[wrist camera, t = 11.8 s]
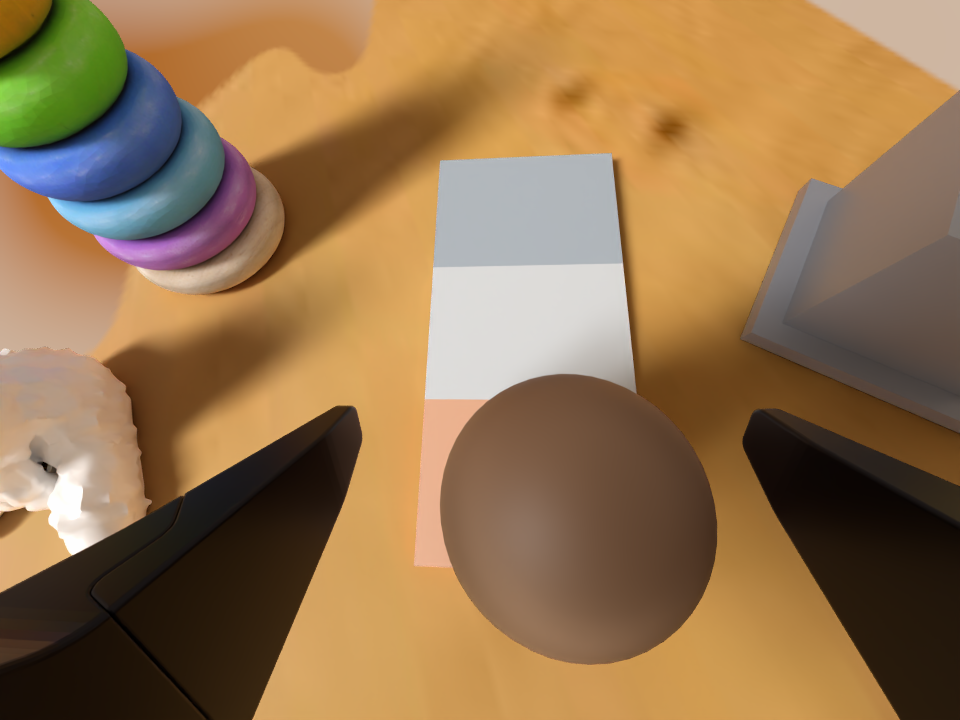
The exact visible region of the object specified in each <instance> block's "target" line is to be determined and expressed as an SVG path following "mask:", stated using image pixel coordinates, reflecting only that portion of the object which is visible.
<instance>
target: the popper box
mask: <svg viewBox="0 0 960 720" xmlns="http://www.w3.org/2000/svg"><path fill="white" fill-rule="evenodd" d="M740 339H741V340H744V341H746V342H748V343H751V344H753V345H755V346H758V347H760V348H762V349H765V350H767V351H769V352H772V353H774V354H776V355H779V356H781V357H783V358H786V359H788V360H790V361H793V362H795V363H797V364H799V365H802V366H804V367H806V368H809V369H811V370H813V371H816V372H818V373H820V374H823V375H825V376H827V377H830V378H832V379H834V380H837V381H839V382H841V383H844V384H846V385H848V386H851V387H853V388H855V389H858V390H860V391H862V392H865V393H867V394H869V395H871V396H874V397H876V398H878V399H881V400H883V401H885V402H888V403H890V404H892V405H895V406H897V407H899V408H902V409H904V410H906V411H909V412H911V413H913V414H916V415H918V416H920V417H923V418H925V419H927V420H930V421H932V422H934V423H937V424H939V425H941V426H944V427H946V428H948V429H950V430H953V431H955V432H957V433H960V90H959V91H958V92H957V93H956V94H955V95H954V96H952V97H951V98H950V99H949V100H948V101H946V102H945V103H944V104H943V105H942V106H940V107H939V108H938V109H937V110H936V111H935V112H933V113H932V114H931V115H930V116H929V117H927V118H926V119H925V120H924V121H923V122H921V123H920V124H919V125H918V126H917V127H915V128H914V129H913V130H912V131H911V132H910V133H908V134H907V135H906V136H905V137H904V138H902V139H901V140H900V141H899V142H898V143H896V144H895V145H894V146H893V147H892V148H890V149H889V150H888V151H887V152H886V153H885V154H883V155H882V156H881V157H880V158H879V159H877V160H876V161H875V162H874V163H873V164H871V165H870V166H869V167H868V168H867V169H866V170H864V171H863V172H862V173H861V174H860V175H858V176H857V177H856V178H855V179H854V180H852V181H851V182H850V183H849V184H848V185H846V186H845V187H844V188H843V189H842V188H839V187H836V186H833V185H830V184H827V183H824V182H821V181H818V180H815V179H812V178H811V179H810V180H809V181H808V182H807V183H806V184H805V185H804V186H803V187H802V188H801V189H800V190H799V191H798V194H797V197H796V199H795V202H794V204H793V207H792V209H791V212H790V214H789V217H788V219H787V222H786V224H785V227H784V229H783V232H782V234H781V237H780V239H779V242H778V244H777V247H776V249H775V252H774V254H773V257H772V259H771V262H770V265H769V267H768V270H767V272H766V275H765V277H764V280H763V282H762V285H761V287H760V290H759V292H758V295H757V297H756V300H755V302H754V305H753V307H752V310H751V312H750V315H749V317H748V320H747V322H746V325H745V327H744V330H743V333H742V335H741V338H740Z"/></svg>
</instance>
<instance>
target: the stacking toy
mask: <svg viewBox="0 0 960 720" xmlns="http://www.w3.org/2000/svg"><path fill="white" fill-rule="evenodd" d="M0 169H1V170H2V171H3V172H4V173H5V174H6V175H7V176H8V177H10V178H11V179H12V180H13V181H15V182H16V183H18V184H20V185H21V186H23V187H25V188H27V189H29V190H31V191H33V192H35V193H38V194H40V195H43V196H47V197H48V198H49V200H50V201H51V203H52V205H53V206H54V207H55V209H56V210H57V211H58V212H59V213H60V214H61V215H62V216H63V217H64V218H65V219H67V220H68V221H70V222H71V223H72V224H74V225H75V226H77V227H79V228H81V229H82V230H85V231H86V232H89V233H91V234H94V236H95V237H96V239H97V240H98V242H99V243H100V244H101V245H102V246H103V247H104V248H105V249H106V250H107V251H108V252H110V253H111V254H112V255H114V256H115V257H117V258H119V259H120V260H122V261H124V262H126V263H128V264H131V265H134V266H136V268H137V269H138V270H139V272H140V273H141V274H142V275H143V276H144V277H146V278H147V279H148V280H149V281H151V282H152V283H154V284H156V285H158V286H159V287H161V288H164V289H167V290H169V291H173V292H177V293H182V294H191V295H198V294H209V293H215V292H219V291H222V290H225V289H228V288H231V287H233V286H235V285H238V284H239V283H241V282H243V281H245V280H246V279H248V278H249V277H251V276H252V275H254V274H255V273H256V272H257V271H258V270H260V269H261V268H262V267H263V266H264V265H265V264H266V262H267V261H268V260H269V259H270V257H271V256H272V255H273V253H274V252H275V250H276V248H277V246H278V244H279V242H280V240H281V237H282V234H283V230H284V222H285V215H284V207H283V204H282V201H281V198H280V196H279V194H278V192H277V190H276V189H275V187H274V186H273V184H272V183H271V182H270V181H269V180H268V179H267V178H266V177H265V176H264V175H263V174H261V173H260V172H259V171H257V170H256V169H254V168H252V167H250V166H249V164H248V163H247V161H246V159H245V158H244V157H243V155H242V154H241V153H240V152H239V151H238V150H237V149H236V148H235V147H234V146H233V145H231V144H230V143H229V142H227V141H226V140H224V139H223V138H221V137H220V136H219V134H218V132H217V131H216V129H215V127H214V126H213V124H212V123H211V122H210V120H209V119H208V118H207V117H206V116H205V115H204V114H203V113H202V112H201V111H200V110H199V109H197V108H196V107H195V106H193V105H191V104H190V103H188V102H187V101H185V100H183V99H181V98H178V97H176V95H175V93H174V91H173V89H172V87H171V86H170V84H169V83H168V81H167V80H166V79H165V78H164V76H163V75H162V74H161V73H160V72H159V71H158V70H157V69H156V68H155V67H154V66H153V65H151V64H150V63H149V62H147V61H146V60H145V59H143V58H141V57H140V56H138V55H136V54H135V53H133V52H130V51H128V50H126V49H125V48H124V45H123V42H122V40H121V38H120V36H119V34H118V33H117V31H116V29H115V28H114V27H113V25H112V24H111V23H110V21H109V20H108V18H107V17H106V16H105V15H104V14H103V13H102V12H101V11H100V10H99V9H98V8H97V7H96V6H95V5H94V4H92V2H90V1H89V0H0Z"/></svg>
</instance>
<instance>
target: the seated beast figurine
mask: <svg viewBox="0 0 960 720" xmlns="http://www.w3.org/2000/svg"><path fill="white" fill-rule="evenodd" d="M125 391H126V385H125V384H124V383H122V382H121V381H120V380H118V379H117V378H116V377H115V376H114V375H113V374H112V373H111V371H110V369H109V368H106V367H104V366H103V365H102V364H101V363H100V362H99V361H98V360H96V359H95V358H94V357H92V356H87V355H80V354H77V353H75V352H74V351H72V350H71V349H69V348H66V349H61V350H52V349H50V348H48V347H42V348H37V349H22V350H20V351H17V352H15V351H12V350H9V349H6V348H5V349H3V350H1V351H0V516H1V515H2V514H3V513H4V511H13V510H17V509H20V508H24V507H26V509H27V511H40V510H46V509H50V510H51V512H52V513H51V514H50V516H49V518H48V519H49V524H50V525H51V526H53V527H54V528H55V529H56V530H57V531H58V534H59V538H61V539H64V542H65V544H66V547H67V550H68V551H69V552H70V553H71V554H72V555H74V554H76V553H78V552H80V551H82V550H84V549H86V548H87V547H89V546H91V545H93V544H95V543H97V542H99V541H101V540H103V539H104V538H106V537H108V536H110V535H112V534H114V533H116V532H118V531H120V530H121V529H123V528H125V527H127V526H129V525H130V524H132V523H134V522H136V521H138V520H139V519H141V518H143V517H145V516H146V512H147V507H148V506H149V505H150V504H151V503H152V501H151V500H149V499H146V498H145V494H144V488H145V487H144V480H143V474H142V466H141V460H140V456H141V454H142V451H141V450H140V449H139V448H138V442H137V428H136V427H135V426H134V425H133V419H132V405H131V398H130V397H129V396H128V395H127V393H126V392H125ZM43 462H46V463H47V464H48V466H47V469H46V471H44V468H43V466H41V464H42V463H43ZM56 472H57V473H56Z"/></svg>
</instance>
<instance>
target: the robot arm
mask: <svg viewBox="0 0 960 720" xmlns="http://www.w3.org/2000/svg"><path fill="white" fill-rule="evenodd" d="M361 443H362V431H361V427H360V422H359V418H358V414H357V411H356V409H355V407H353V406H335V407H334V408H332V409H330V410H328V411H327V412H325V413H323V414H321V415H320V416H318V417H316V418H315V419H313V420H311V421H309V422H308V423H306V424H304V425H302V426H301V427H299V428H297V429H296V430H294V431H292V432H290V433H289V434H287V435H285V436H283V437H282V438H280V439H278V440H277V441H275V442H273V443H271V444H270V445H268V446H266V447H264V448H263V449H261V450H259V451H258V452H256V453H254V454H252V455H251V456H249V457H247V458H245V459H244V460H242V461H240V462H239V463H237V464H235V465H233V466H232V467H230V468H228V469H226V470H225V471H223V472H221V473H220V474H218V475H216V476H214V477H213V478H211V479H209V480H207V481H206V482H204V483H202V484H201V485H199V486H197V487H195V488H194V489H192V490H190V491H188V492H187V493H185V495H184V496H180V497H178V498H176V499H174V500H173V501H171V502H169V503H168V504H166V505H164V506H162V507H161V508H159V509H157V510H155V511H154V512H152V513H150V514H148V515H147V516H145V517H143V518H141V519H139V520H138V521H136V522H134V523H132V524H130V525H129V526H127V527H125V528H123V529H121V530H120V531H118V532H116V533H114V534H112V535H110V536H108V537H106V538H104V539H103V540H101V541H99V542H97V543H95V544H93V545H91V546H89V547H87V548H86V549H84V550H82V551H80V552H78V553H76V554H74V555H72V556H70V557H68V558H66V559H64V560H63V561H61V562H59V563H57V564H55V565H53V566H51V567H49V568H47V569H45V570H43V571H41V572H39V573H37V574H36V575H34V576H32V577H30V578H28V579H26V580H24V581H22V582H20V583H18V584H16V585H14V586H12V587H11V588H9V589H7V590H5V591H3V592H1V593H0V720H252V719H253V717H254V714H255V712H256V710H257V707H258V705H259V703H260V700H261V698H262V695H263V693H264V691H265V688H266V686H267V684H268V681H269V679H270V676H271V674H272V672H273V669H274V667H275V665H276V662H277V660H278V657H279V655H280V653H281V650H282V648H283V646H284V643H285V641H286V638H287V636H288V634H289V631H290V629H291V627H292V624H293V622H294V619H295V617H296V615H297V612H298V610H299V608H300V605H301V603H302V600H303V598H304V596H305V593H306V591H307V589H308V586H309V584H310V581H311V579H312V577H313V574H314V572H315V570H316V567H317V565H318V562H319V560H320V558H321V555H322V553H323V551H324V548H325V546H326V543H327V541H328V539H329V536H330V534H331V532H332V529H333V527H334V524H335V522H336V520H337V517H338V515H339V513H340V510H341V508H342V505H343V503H344V500H345V497H346V494H347V491H348V487H349V484H350V481H351V477H352V474H353V470H354V467H355V464H356V460H357V457H358V454H359V450H360V447H361ZM743 448H744V451H745V453H746V455H747V457H748V459H749V461H750V463H751V465H752V467H753V469H754V471H755V474H756V476H757V478H758V480H759V482H760V484H761V486H762V488H763V490H764V492H765V495H766V497H767V499H768V501H769V503H770V505H771V507H772V509H773V511H774V513H775V514H776V516H777V518H778V519H779V521H780V523H781V525H782V526H783V528H784V530H785V531H786V533H787V535H788V536H789V538H790V539H791V541H792V543H793V544H794V546H795V548H796V549H797V551H798V553H799V554H800V556H801V558H802V559H803V561H804V562H805V564H806V566H807V567H808V569H809V571H810V572H811V574H812V576H813V577H814V579H815V581H816V582H817V584H818V586H819V587H820V589H821V590H822V592H823V594H824V595H825V597H826V599H827V600H828V602H829V604H830V605H831V607H832V609H833V610H834V612H835V613H836V615H837V617H838V618H839V620H840V622H841V623H842V625H843V627H844V628H845V630H846V632H847V633H848V635H849V637H850V638H851V640H852V641H853V643H854V645H855V646H856V648H857V650H858V651H859V653H860V655H861V656H862V658H863V660H864V661H865V663H866V664H867V666H868V668H869V669H870V671H871V673H872V674H873V676H874V678H875V679H876V681H877V683H878V684H879V686H880V688H881V689H882V691H883V692H884V694H885V696H886V697H887V699H888V701H889V702H890V704H891V706H892V707H893V709H894V711H895V712H896V714H897V715H898V717H899V719H900V720H960V486H958V485H955V484H953V483H951V482H948V481H946V480H944V479H941V478H939V477H937V476H934V475H932V474H930V473H927V472H925V471H923V470H920V469H918V468H916V467H913V466H911V465H909V464H906V463H904V462H901V461H899V460H897V459H894V458H892V457H890V456H887V455H885V454H883V453H880V452H878V451H876V450H873V449H871V448H869V447H866V446H864V445H862V444H859V443H857V442H855V441H852V440H850V439H848V438H845V437H843V436H841V435H838V434H836V433H834V432H831V431H829V430H827V429H824V428H822V427H820V426H817V425H815V424H813V423H810V422H808V421H806V420H803V419H801V418H799V417H796V416H794V415H791V414H789V413H787V412H784V411H782V410H779V409H757V410H755V411H754V412H753V413H752V415H751V418H750V420H749V423H748V426H747V428H746V431H745V433H744V436H743Z"/></svg>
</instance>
